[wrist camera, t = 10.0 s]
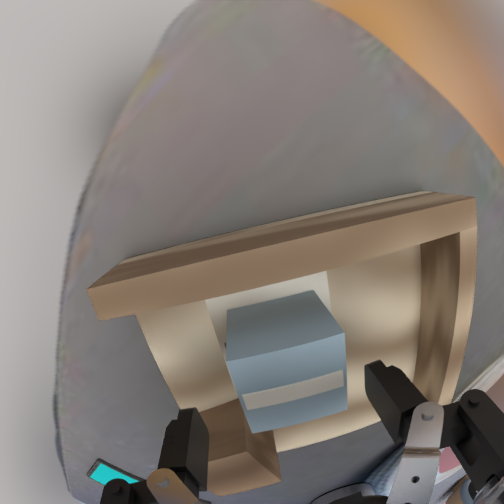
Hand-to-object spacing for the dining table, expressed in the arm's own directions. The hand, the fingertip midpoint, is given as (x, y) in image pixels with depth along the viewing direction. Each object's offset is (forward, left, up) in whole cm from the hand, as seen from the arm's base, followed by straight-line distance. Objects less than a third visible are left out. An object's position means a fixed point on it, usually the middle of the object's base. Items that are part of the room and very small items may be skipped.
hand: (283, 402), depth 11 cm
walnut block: (-7, +4, -5) cm, 10 cm away
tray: (-3, -3, -7) cm, 8 cm away
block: (0, -1, -5) cm, 5 cm away
